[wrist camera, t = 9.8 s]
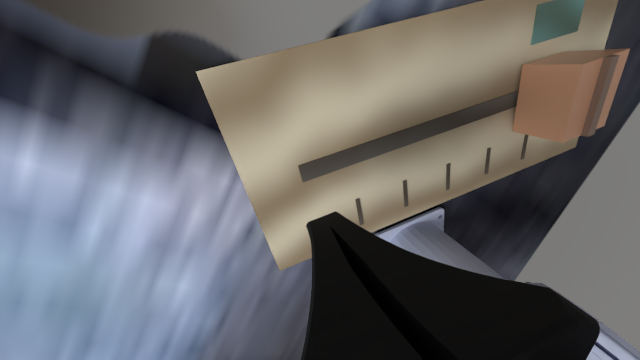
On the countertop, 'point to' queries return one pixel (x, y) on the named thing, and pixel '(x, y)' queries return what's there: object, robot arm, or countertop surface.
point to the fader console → (391, 113)
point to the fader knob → (568, 93)
